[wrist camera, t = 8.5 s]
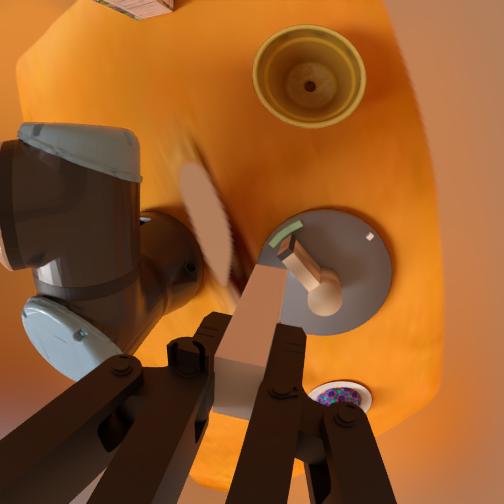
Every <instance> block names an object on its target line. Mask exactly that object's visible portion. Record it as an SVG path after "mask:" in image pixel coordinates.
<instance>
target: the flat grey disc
mask: <svg viewBox="0 0 504 504" xmlns="http://www.w3.org/2000/svg"><path fill="white" fill-rule="evenodd" d="M291 234H293V235H294V237H295V238H296V240H297V241H298V242H299V243H300V244H301V246H302V247H303V248H304V249H305V250H306V251H307V253H308V254H309V255H310V256H311V257H312V258H313V260H314V261H315V262H316V263H317V264H318V266H319V267H320V268H322V267H328V268H331V269H333V270H335V271H336V272H337V273H338V275H339V277H340V284H341V293H342V305H341V307H340V309H339V310H338V311H337V312H336V313H334V314H332V315H329V316H320V315H317V314H315V313H313V312H312V311H311V310H310V308H309V306H308V290H307V289H306V288H305V287H304V286H303V285H302V284H301V282H300V281H299V280H298V279H297V278H296V277H295V276H294V274H293V273H292V272H291V271H290V270H289V269H288V268H287V267H286V265H285V264H284V263H283V262H281V261H280V260H279V258H278V257H277V254H278V251H279V248H280V244H281V242H282V241H283V240H284V239H286V238H287V237H288V236H289V235H291ZM257 264H258V265H264V266H270V267H276V268H281V269H287V270H288V273H287V279H286V285H285V291H284V297H283V303H282V309H281V314H280V320H279V321H280V322H282V323H283V324H285V325H290V326H296V327H302V328H303V330H304V332H305V333H306V334H311V335H321V336H327V335H336V334H341V333H344V332H348V331H350V330H353V329H355V328H357V327H359V326H361V325H362V324H364V323H365V322H367V321H368V320H369V319H370V318H371V317H373V316H374V315H375V314H376V313H377V311H378V310H379V309H380V308H381V306H382V305H383V303H384V301H385V299H386V297H387V295H388V293H389V289H390V286H391V280H392V266H391V260H390V256H389V253H388V251H387V249H386V246H385V244H384V242H383V241H382V239H381V238H380V236H379V235H378V233H377V232H376V231H375V230H374V229H373V228H372V227H371V226H370V225H369V224H368V223H367V222H365V221H364V220H362V219H361V218H359V217H357V216H355V215H353V214H350V213H348V212H344V211H341V210H335V209H315V210H310V211H305V212H302V213H300V214H297V215H295V216H293V217H291V218H289V219H287V220H286V221H284V222H283V223H282V224H280V225H279V226H278V227H277V228H276V229H275V230H274V231H273V232H272V233H271V235H270V236H269V237H268V239H267V240H266V242H265V244H264V246H263V248H262V250H261V253H260V255H259V258H258V262H257Z"/></svg>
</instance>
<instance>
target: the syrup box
mask: <svg viewBox="0 0 504 504" xmlns="http://www.w3.org/2000/svg"><path fill="white" fill-rule="evenodd" d="M93 1H96V2H98V3H100V4H103V5H105V6H107V7H110V8H112V9H114V10H116V11H119V12H121V13H123V14H125V15H127V16H129V17H131V18H133V19H135V20H141V19H145V18H149V17H153V16H157V15H161V14H166V13H170V12H173V11H174V0H93Z"/></svg>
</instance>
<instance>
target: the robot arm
mask: <svg viewBox="0 0 504 504" xmlns="http://www.w3.org/2000/svg"><path fill="white" fill-rule="evenodd" d="M17 137H19V139H16V140H10V141H3V142H0V262H1V263H2V264H3V265H4V266H5V267H6V268H7V269H9V270H10V271H14V270H20V269H26V268H32V272H33V278H34V283H35V287H36V296H32V297H31V298H29V299H28V300H27V303H26V304H25V306H24V309H23V310H22V321H23V325H24V328H25V330H26V333H27V335H28V336H29V338H30V340H31V342H32V343H33V344H34V346H35V347H36V349H37V350H38V351H39V352H40V354H41V355H42V356H43V357H44V358H45V359H46V360H47V361H48V362H49V363H50V364H51V365H52V366H53V367H54V368H56V369H57V370H58V371H60V372H61V373H62V374H64V375H65V376H67V377H69V378H70V379H72V380H74V381H76V383H75V384H73V385H72V386H71V387H69V388H68V389H67V390H66V391H64V392H63V393H62V394H60V395H59V396H58V397H56V398H55V399H54V400H52V401H51V402H50V403H48V404H47V405H46V406H45V407H43V408H42V409H41V410H39V411H38V412H37V413H35V414H34V415H33V416H31V417H30V418H29V419H27V420H26V421H25V422H24V423H22V424H21V425H20V426H18V427H17V428H16V429H14V430H13V431H12V432H10V433H9V434H8V435H7V436H5V437H4V438H3V439H1V440H0V504H69V503H70V502H71V501H72V500H73V499H74V498H75V497H76V496H77V495H78V494H79V493H80V492H82V491H83V490H84V489H85V488H86V487H87V486H88V485H89V484H90V483H91V482H92V481H93V480H94V479H95V478H96V477H97V476H98V475H99V474H100V473H101V472H102V471H103V470H104V469H105V468H106V467H107V469H106V471H105V472H104V474H103V476H102V477H101V479H100V481H99V482H98V484H97V486H96V488H95V489H94V491H93V493H92V494H91V496H90V498H89V500H88V502H87V503H86V504H177V501H178V499H179V496H180V494H181V491H182V489H183V487H184V484H185V481H186V479H187V477H188V474H189V472H190V469H191V467H192V464H193V462H194V459H195V457H196V454H197V452H198V449H199V446H200V444H201V441H202V439H203V436H204V434H205V431H206V429H207V426H208V422H209V413H210V410H211V408H212V405H213V412H216V413H220V414H224V415H228V416H232V417H237V418H241V419H246V420H250V421H249V425H248V428H247V432H246V435H245V439H244V442H243V446H242V449H241V453H240V456H239V460H238V463H237V466H236V470H235V473H234V476H233V480H232V483H231V486H230V490H229V493H228V496H227V499H226V503H225V504H287V500H288V494H289V488H290V483H291V477H292V471H293V464H294V458H297V459H299V460H301V461H304V468H305V474H306V479H307V486H308V491H309V498H310V503H311V504H397V502H396V499H395V496H394V493H393V490H392V487H391V484H390V481H389V478H388V475H387V472H386V469H385V466H384V463H383V460H382V458H381V455H380V452H379V449H378V446H377V443H376V440H375V437H374V435H373V432H372V429H371V426H370V424H369V421H368V418H367V415H366V414H365V412H364V411H363V409H362V408H360V407H359V406H358V405H356V404H354V403H351V402H347V401H338V402H334V403H332V404H330V405H329V406H326V405H324V404H321V403H319V402H317V401H315V400H313V399H312V398H310V397H309V396H308V395H307V394H306V392H305V391H304V389H303V386H302V378H303V369H304V359H305V349H306V338H307V336H306V334H305V332H304V330H303V328H302V327H296V326H290V325H285V324H279V320H280V314H281V309H282V303H283V297H284V291H285V285H286V279H287V273H288V270H287V269H281V268H276V267H270V266H264V265H258V264H256V265H255V268H254V270H253V272H252V274H251V277H250V279H249V281H248V283H247V285H246V288H245V290H244V292H243V294H242V296H241V299H240V301H239V303H238V305H237V307H236V310H235V312H234V314H233V315H228V314H223V313H218V312H212V313H210V314H209V315H207V316H206V317H204V319H203V321H202V322H201V324H200V326H199V327H198V329H197V331H196V334H194V336H193V337H180V338H177V339H174V340H172V341H171V342H170V343H169V344H167V356H168V366H166V367H142V365H141V362H140V361H139V360H138V359H137V358H136V357H134V356H133V354H134V353H135V352H136V350H137V349H138V348H139V346H140V345H141V344H142V342H143V341H144V340H145V338H146V337H147V336H148V334H149V333H150V332H151V330H152V329H153V328H154V326H155V325H156V324H157V323H158V321H159V320H160V319H161V317H162V316H164V315H166V314H168V313H171V312H173V311H175V310H177V309H179V308H181V307H183V306H184V305H185V304H187V303H188V302H189V301H190V300H191V299H192V298H193V296H194V295H195V293H196V292H197V291H198V289H199V287H200V285H201V283H202V280H203V276H204V261H203V256H202V252H201V250H200V247H199V245H198V243H197V241H196V239H195V238H194V236H193V235H192V234H191V232H190V231H189V230H188V229H187V228H186V227H185V226H184V225H183V224H182V223H180V222H179V221H178V220H176V219H174V218H173V217H171V216H169V215H166V214H163V213H159V212H152V211H148V212H141V213H140V183H142V176H141V175H140V143H139V140H138V138H137V137H136V135H135V134H134V133H133V132H131V131H130V130H128V129H124V128H117V127H108V126H98V125H85V124H71V123H45V122H25V123H23V124H22V125H21V126H20V129H19V131H18V133H17Z"/></svg>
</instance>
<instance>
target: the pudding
mask: <svg viewBox="0 0 504 504" xmlns="http://www.w3.org/2000/svg"><path fill="white" fill-rule="evenodd" d="M333 387H342V388H340V389H335V388H333ZM346 387H348V388H346ZM330 388H332V389H330ZM349 388H352V389H354V390H356V391H357V392H358V393H357V392H356V391H351V390H350V389H349ZM327 389H328V390H327ZM325 390H326V392H325V393H324V394H320V393H322V392H323V391H325ZM319 394H320V395H319ZM359 394H360V395H361V398H362V402H361V400H360V399H359V397H360V395H359ZM318 395H319V396H318ZM308 396H309V397H310V398H312V399H313V400H315V401H316V398H317V396H318V398H317V401H318V402H319V403H321V404H324V405H326V406H329V405H330V404H332V403H334V402H338V401H347V402H351V403H354V404H356V405H358V406H359V407H360V408H362V409H363V411H364V412H365V413H366V412H367V411H368V410H369V408H370V406H371V403H372V397H371V394H370V393H369V391H368V390H367V389H366V388H365V387H363V386H361V385H359V384H356V383H352V382H345V381H340V382H331V383H327V384H324V385H322V386H319V387H318V388H316V389H314V390H313V391H312V392H311V393H310V394H309V395H308Z"/></svg>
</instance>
